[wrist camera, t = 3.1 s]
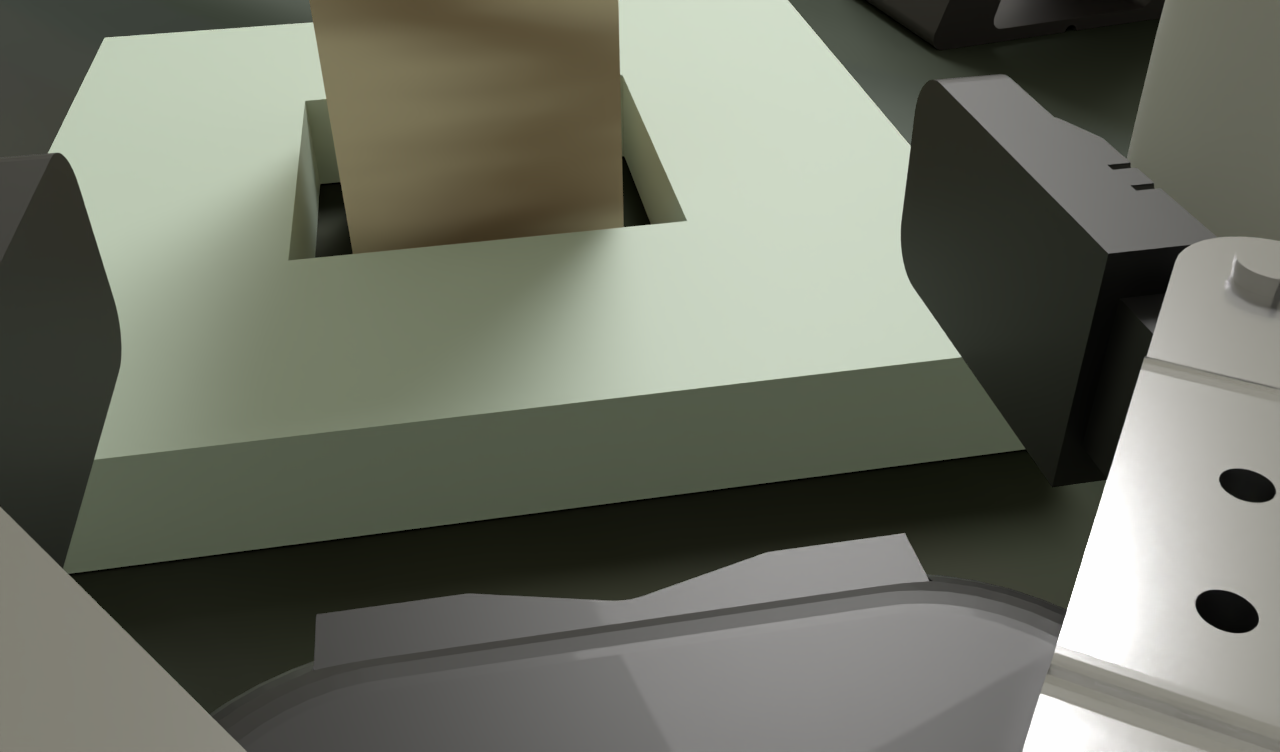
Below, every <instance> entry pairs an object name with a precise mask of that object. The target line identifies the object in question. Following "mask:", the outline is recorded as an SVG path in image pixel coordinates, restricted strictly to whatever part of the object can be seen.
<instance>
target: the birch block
mask: <svg viewBox="0 0 1280 752" xmlns="http://www.w3.org/2000/svg"><path fill="white" fill-rule="evenodd" d="M309 1H310V7H311V13H312V19H313V24H314V30H315V36H316V42H317V48H318V54H319V59H320V65H321V71H322V77H323V83H324V88H325V94H326V100H327V106H328V112H329V118H330V123H331V129H332V135H333V141H334V147H335V153H336V158H337V164H338V170H339V176H340V182H341V188H342V193H343V199H344V205H345V211H346V217H347V223H348V228H349V234H350V240H351V246H352V252H353V254H359V253H369V252H380V251H390V250H400V249H410V248H420V247H430V246H440V245H450V244H460V243H470V242H481V241H491V240H501V239H511V238H521V237H531V236H541V235H551V234H561V233H571V232H581V231H592V230H602V229H612V228H622V227H624V219H623V176H622V133H621V90H620V48H619V5H618V0H309Z"/></svg>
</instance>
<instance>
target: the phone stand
mask: <svg viewBox="0 0 1280 752" xmlns="http://www.w3.org/2000/svg"><path fill="white" fill-rule="evenodd" d="M866 1H867V2H869V3H870V4H872V5H873V6H875V7H876V8H878V9H879V10H881V11H882V12H884V13H885V14H887V15H888V16H890V17H891V18H893V19H894V20H896V21H897V22H898V23H900V24H901V25H903V26H904V27H906V28H907V29H909V30H910V31H912V32H913V33H915V34H916V35H918V36H919V37H921V38H922V39H924V40H925V41H927V42H928V43H930V44H931V45H932V46H934V47H935V48H937V49H939V50H946V49H953V48H960V47H967V46H974V45H980V44H987V43H994V42H1001V41H1008V40H1015V39H1022V38H1028V37H1035V36H1042V35H1049V34H1056V33H1063V32H1065V30H1066V29H1067V27H1071V28H1072V29H1074V30H1083V29H1090V28H1097V27H1104V26H1111V25H1117V24H1124V23H1131V22H1138V21H1145V20H1152V19H1159V18H1161V14H1162V11H1163V7H1164V3H1165V0H866Z"/></svg>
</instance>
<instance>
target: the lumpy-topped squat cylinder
mask: <svg viewBox="0 0 1280 752" xmlns="http://www.w3.org/2000/svg"><path fill="white" fill-rule="evenodd" d="M1127 160H1128V161H1129V162H1131V168H1138V169H1139V170H1140V171H1141V172H1142V173H1143V174H1145V175H1146V176H1147V177H1148V178H1149V179H1150V180H1151V181H1153V182H1154V188H1155V189H1158V188H1161V189H1162V190H1163V191H1164V192H1165V193H1167V194H1168V195H1169V196H1170V197H1171V198H1172V199H1173V200H1175V201H1176V202H1177V203H1178V204H1179V205H1180V206H1182V207H1183V208H1184V209H1185V210H1186V211H1187V212H1188V213H1190V214H1191V215H1192V216H1193V217H1194V218H1195V219H1197V220H1198V221H1199V222H1200V223H1201V224H1202V225H1204V226H1205V227H1206V228H1207V229H1208V230H1209V231H1210V232H1212V233H1213V234H1214V235H1215V236H1216V237H1217V238H1219V237H1255V238H1264V239H1270V240H1276V241H1280V0H1165V3H1164V7H1163V11H1162V14H1161V18H1160V22H1159V26H1158V29H1157V33H1156V37H1155V42H1154V46H1153V50H1152V54H1151V58H1150V63H1149V67H1148V71H1147V75H1146V79H1145V83H1144V88H1143V92H1142V96H1141V100H1140V104H1139V109H1138V113H1137V117H1136V121H1135V125H1134V130H1133V134H1132V138H1131V142H1130V146H1129V151H1128V155H1127Z"/></svg>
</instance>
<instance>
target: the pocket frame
mask: <svg viewBox="0 0 1280 752" xmlns="http://www.w3.org/2000/svg"><path fill="white" fill-rule="evenodd" d="M618 5H619V48H620V90H621V133H622V156H624V157H625V159H626V162H627V165H628V167H629V170H630V172H631V175H632V177H633V180H634V182H635V185H636V188H637V190H638V193H639V195H640V198H641V200H642V203H643V205H644V208H645V211H646V213H647V216H648V218H649V221H650V223H651V225H642V226H632V227H622V228H612V229H602V230H592V231H581V232H571V233H561V234H551V235H541V236H531V237H521V238H511V239H501V240H491V241H481V242H470V243H460V244H450V245H440V246H430V247H420V248H410V249H400V250H390V251H380V252H369V253H359V254H349V255H339V256H329V257H319V258H315V252H316V238H317V224H318V210H319V195H320V184H325V183H336V182H340V176H339V170H338V164H337V158H336V153H335V147H334V141H333V135H332V129H331V123H330V118H329V112H328V106H327V100H326V94H325V88H324V83H323V77H322V71H321V65H320V59H319V54H318V48H317V42H316V36H315V30H314V24H313V23H300V24H286V25H273V26H259V27H245V28H232V29H218V30H204V31H191V32H177V33H163V34H150V35H136V36H122V37H109V38H104V40H103V42H102V44H101V46H100V48H99V50H98V53H97V55H96V57H95V59H94V61H93V63H92V65H91V67H90V69H89V71H88V73H87V75H86V77H85V79H84V81H83V83H82V85H81V87H80V89H79V91H78V93H77V95H76V97H75V99H74V101H73V103H72V105H71V107H70V109H69V112H68V114H67V116H66V118H65V120H64V122H63V124H62V126H61V128H60V130H59V132H58V134H57V136H56V138H55V140H54V142H53V144H52V146H51V148H50V150H49V152H48V153H61V154H62V155H63V156H64V157H65V158H66V159H67V160H68V162H69V163H70V165H71V167H72V169H73V171H74V173H75V176H76V179H77V181H78V184H79V188H80V191H81V194H82V197H83V200H84V204H85V207H86V210H87V213H88V217H89V220H90V223H91V226H92V230H93V233H94V236H95V239H96V242H97V246H98V249H99V252H100V255H101V259H102V262H103V265H104V268H105V272H106V275H107V278H108V281H109V284H110V288H111V291H112V294H113V297H114V301H115V304H116V308H117V313H118V318H119V324H120V331H121V346H122V353H121V365H120V370H119V374H118V377H117V381H116V385H115V388H114V392H113V395H112V399H111V402H110V406H109V409H108V413H107V416H106V420H105V423H104V427H103V430H102V434H101V437H100V441H99V444H98V448H97V451H96V455H95V458H94V462H93V465H92V469H91V472H90V476H89V479H88V483H87V486H86V490H85V493H84V497H83V500H82V504H81V507H80V511H79V514H78V518H77V521H76V525H75V528H74V532H73V535H72V539H71V542H70V546H69V549H68V553H67V556H66V560H65V563H64V567H63V570H64V571H66V572H67V573H68V574H71V573H79V572H86V571H94V570H102V569H109V568H117V567H125V566H133V565H140V564H148V563H156V562H163V561H171V560H179V559H186V558H194V557H202V556H209V555H217V554H225V553H232V552H240V551H248V550H256V549H263V548H271V547H279V546H286V545H294V544H302V543H309V542H317V541H325V540H332V539H340V538H348V537H355V536H363V535H371V534H378V533H386V532H394V531H402V530H409V529H417V528H425V527H432V526H440V525H448V524H455V523H463V522H471V521H478V520H486V519H494V518H501V517H509V516H517V515H525V514H532V513H540V512H548V511H555V510H563V509H571V508H578V507H586V506H594V505H601V504H609V503H617V502H624V501H632V500H640V499H648V498H655V497H663V496H671V495H678V494H686V493H694V492H701V491H709V490H717V489H724V488H732V487H740V486H747V485H755V484H763V483H771V482H778V481H786V480H794V479H801V478H809V477H817V476H824V475H832V474H840V473H847V472H855V471H863V470H870V469H878V468H886V467H894V466H901V465H909V464H917V463H924V462H932V461H940V460H947V459H955V458H963V457H970V456H978V455H986V454H993V453H1001V452H1009V451H1017V450H1024V449H1025V447H1024V446H1023V445H1022V443H1021V442H1020V440H1019V439H1018V437H1017V436H1016V434H1015V433H1014V432H1013V430H1012V429H1011V427H1010V426H1009V424H1008V423H1007V422H1006V420H1005V419H1004V417H1003V416H1002V414H1001V413H1000V411H999V410H998V409H997V407H996V406H995V404H994V403H993V401H992V400H991V399H990V397H989V396H988V394H987V393H986V391H985V390H984V388H983V387H982V386H981V384H980V383H979V381H978V380H977V378H976V377H975V376H974V374H973V373H972V371H971V370H970V368H969V367H968V365H967V364H966V363H965V361H964V360H963V358H962V357H961V355H960V354H959V353H958V351H957V350H956V348H955V347H954V345H953V344H952V342H951V341H950V340H949V338H948V337H947V335H946V334H945V332H944V331H943V330H942V328H941V327H940V325H939V324H938V322H937V321H936V319H935V318H934V317H933V315H932V314H931V312H930V311H929V309H928V308H927V307H926V305H925V304H924V302H923V301H922V299H921V298H920V296H919V295H918V294H917V292H916V291H915V289H914V288H913V286H912V285H911V283H910V281H909V279H908V276H907V273H906V270H905V267H904V263H903V257H902V250H901V220H902V212H903V204H904V196H905V188H906V180H907V173H908V165H909V157H910V149H911V146H910V145H909V144H908V142H907V141H906V140H905V139H904V138H903V137H902V135H901V134H900V133H899V132H898V131H897V129H896V128H895V127H894V126H893V125H892V123H891V122H890V121H889V120H888V119H887V118H886V116H885V115H884V114H883V113H882V112H881V110H880V109H879V108H878V107H877V106H876V104H875V103H874V102H873V101H872V100H871V98H870V97H869V96H868V95H867V94H866V93H865V91H864V90H863V89H862V88H861V87H860V85H859V84H858V83H857V82H856V81H855V79H854V78H853V77H852V76H851V75H850V74H849V72H848V71H847V70H846V69H845V68H844V66H843V65H842V64H841V63H840V62H839V60H838V59H837V58H836V57H835V56H834V55H833V53H832V52H831V51H830V50H829V49H828V47H827V46H826V45H825V44H824V43H823V41H822V40H821V39H820V38H819V37H818V36H817V34H816V33H815V32H814V31H813V30H812V28H811V27H810V26H809V25H808V24H807V22H806V21H805V20H804V19H803V18H802V16H801V15H800V14H799V13H798V12H797V11H796V9H795V8H794V7H793V6H792V5H791V3H790V2H789V1H788V0H618Z"/></svg>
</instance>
